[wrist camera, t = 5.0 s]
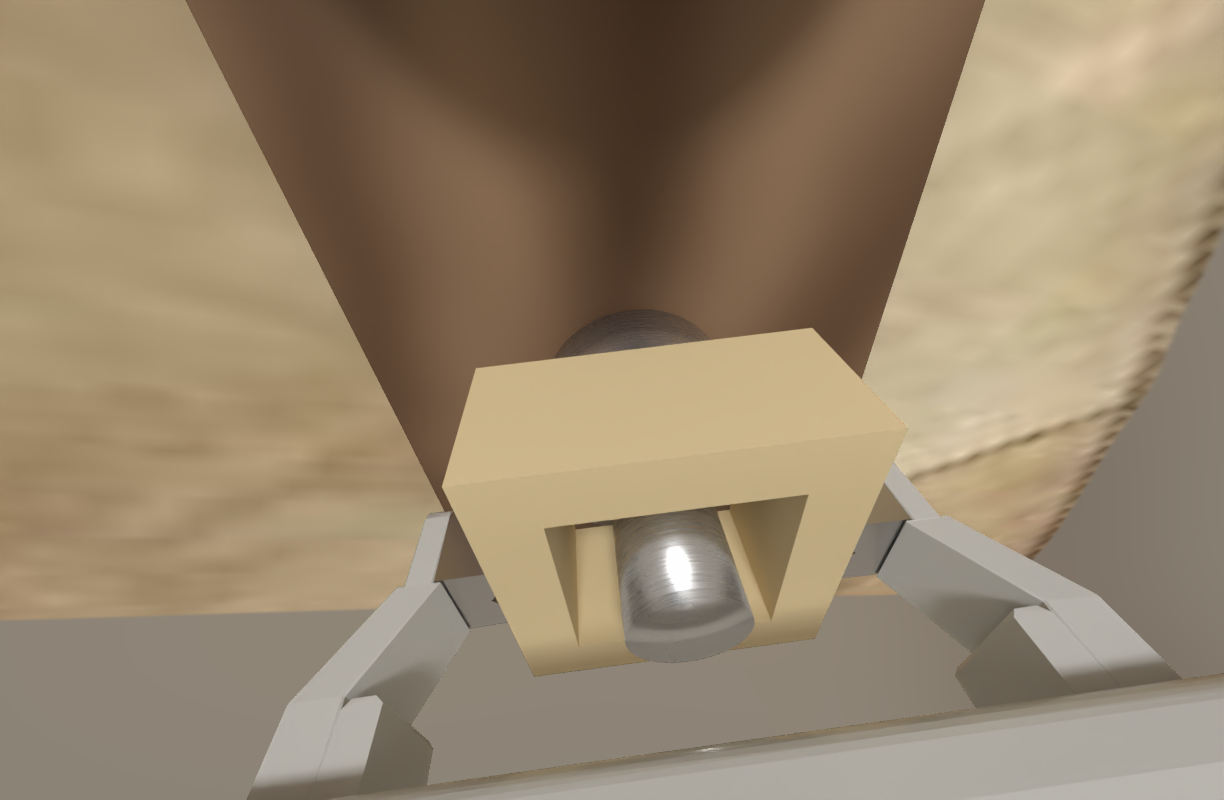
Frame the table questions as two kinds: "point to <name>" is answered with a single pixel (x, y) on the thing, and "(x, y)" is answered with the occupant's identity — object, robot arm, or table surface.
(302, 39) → the base board
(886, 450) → the collar
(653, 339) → the silver knob
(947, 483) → the table surface
